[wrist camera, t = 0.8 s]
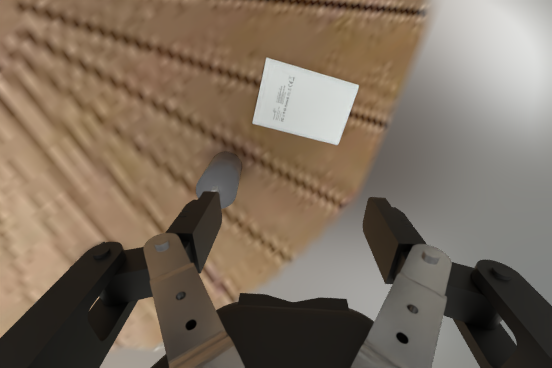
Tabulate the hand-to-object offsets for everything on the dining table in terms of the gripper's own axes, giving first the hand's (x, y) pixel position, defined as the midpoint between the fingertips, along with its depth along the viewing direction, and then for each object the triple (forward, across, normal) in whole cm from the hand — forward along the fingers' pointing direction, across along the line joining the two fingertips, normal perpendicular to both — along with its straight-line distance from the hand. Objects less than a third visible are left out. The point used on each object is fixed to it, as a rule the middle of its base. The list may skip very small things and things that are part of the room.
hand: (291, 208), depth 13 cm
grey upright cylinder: (+20, +9, +6) cm, 23 cm away
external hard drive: (+23, -2, -2) cm, 23 cm away
